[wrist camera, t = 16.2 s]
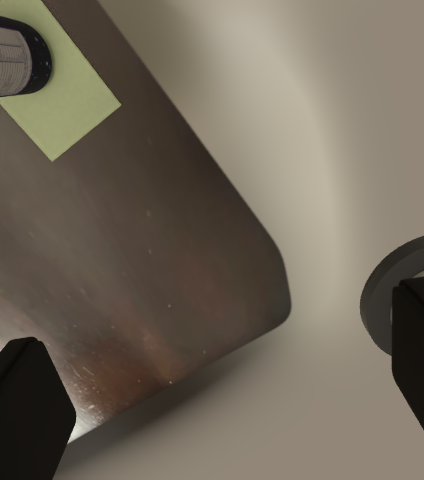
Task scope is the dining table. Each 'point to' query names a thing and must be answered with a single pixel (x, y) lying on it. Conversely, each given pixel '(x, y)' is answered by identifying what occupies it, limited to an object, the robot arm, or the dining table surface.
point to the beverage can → (22, 59)
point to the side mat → (58, 87)
